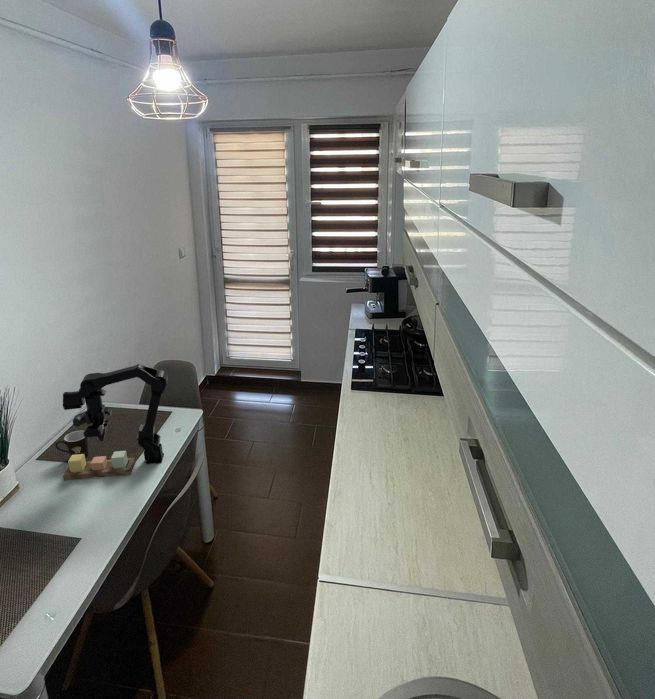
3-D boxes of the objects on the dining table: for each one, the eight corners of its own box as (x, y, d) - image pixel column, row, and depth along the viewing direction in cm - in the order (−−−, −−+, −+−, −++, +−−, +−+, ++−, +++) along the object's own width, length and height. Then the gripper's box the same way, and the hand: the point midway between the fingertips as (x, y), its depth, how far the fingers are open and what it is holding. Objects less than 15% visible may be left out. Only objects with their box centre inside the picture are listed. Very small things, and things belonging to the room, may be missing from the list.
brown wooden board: (135, 462, 202) (134, 457, 201) (130, 474, 194) (129, 469, 193) (71, 467, 199) (70, 462, 198) (63, 480, 191) (62, 475, 190)
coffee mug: (95, 451, 210) (91, 431, 206) (84, 463, 202) (79, 442, 198) (69, 450, 211) (65, 429, 207) (57, 461, 203) (52, 440, 199)
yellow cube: (86, 464, 197) (84, 453, 195) (82, 471, 193) (80, 460, 191) (74, 465, 196) (72, 454, 195) (70, 472, 192) (67, 461, 190)
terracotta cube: (108, 466, 199) (106, 455, 197) (104, 473, 194) (102, 462, 192) (96, 467, 198) (94, 456, 196) (92, 474, 194) (90, 463, 192)
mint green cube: (128, 461, 199) (126, 450, 197) (125, 467, 195) (123, 457, 193) (116, 462, 198) (114, 451, 196) (113, 468, 194) (111, 458, 192)
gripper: (79, 397, 197) (87, 430, 203) (64, 419, 180) (73, 455, 186) (109, 394, 199) (115, 427, 205) (96, 416, 182) (104, 452, 188)
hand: (102, 440), depth 196 cm, fingers closed
